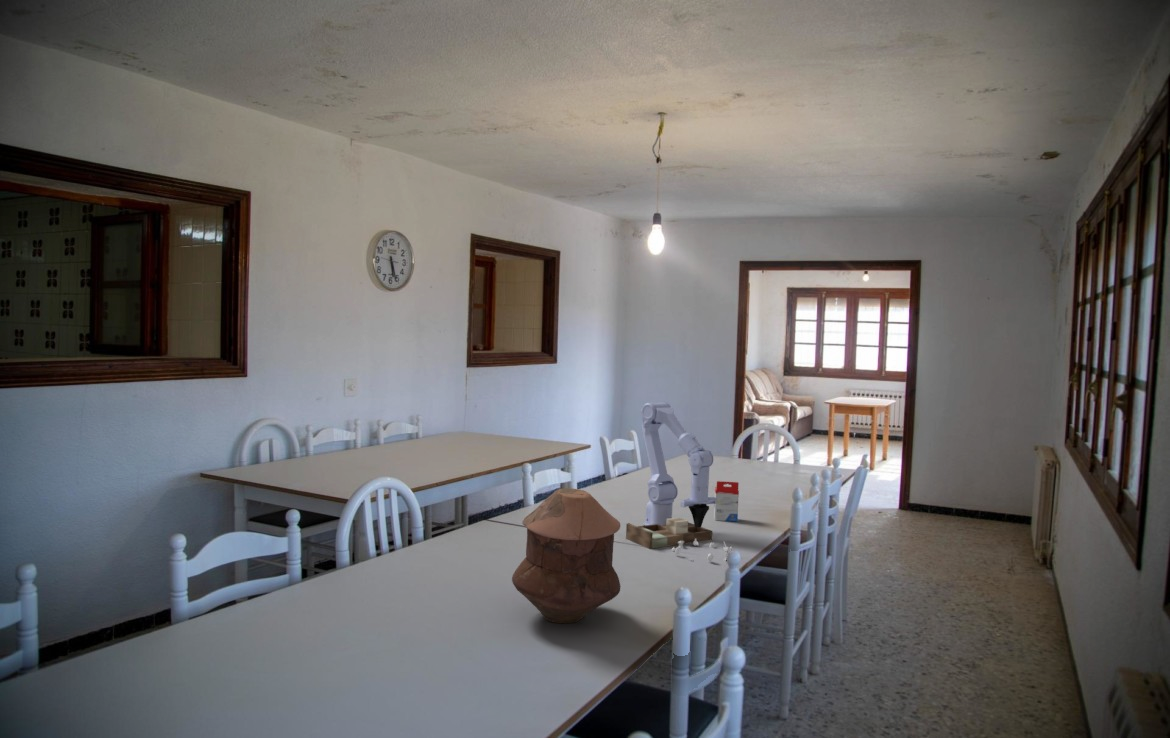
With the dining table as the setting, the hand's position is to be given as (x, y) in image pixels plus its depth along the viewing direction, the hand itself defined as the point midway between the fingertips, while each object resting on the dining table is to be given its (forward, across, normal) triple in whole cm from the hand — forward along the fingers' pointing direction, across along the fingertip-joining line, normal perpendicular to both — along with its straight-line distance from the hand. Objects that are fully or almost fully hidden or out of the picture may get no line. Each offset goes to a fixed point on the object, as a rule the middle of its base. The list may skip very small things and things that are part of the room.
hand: (697, 526), depth 257 cm
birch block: (+1, -9, 0) cm, 9 cm away
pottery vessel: (+4, -76, -42) cm, 87 cm away
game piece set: (+4, -11, -15) cm, 19 cm away
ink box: (+4, +27, +16) cm, 32 cm away
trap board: (+4, -10, +4) cm, 11 cm away
